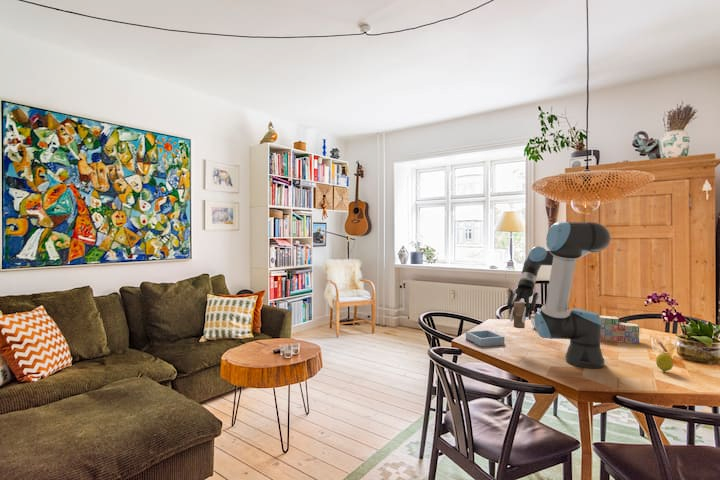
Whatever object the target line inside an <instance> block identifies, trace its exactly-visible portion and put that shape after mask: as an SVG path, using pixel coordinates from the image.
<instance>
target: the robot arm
mask: <svg viewBox="0 0 720 480" xmlns="http://www.w3.org/2000/svg"><path fill="white" fill-rule="evenodd" d="M610 242H611V234H610V231H609V230H608V229H607V227H606V226H604V225H603V224H601V223H598V222H592V221H590V222H589V221H588V222H584V221H583V222H580V221H579V222H577V221H575V222H574V221H569V222H568V221H561V222H560V221H559V222H555V223H553V224H552V225H550V227H549V229H548V231H547V234H546V248H547V249H548V250H546V248H544V247H543V246H538V245H537V246H534V247H532V248H531V249H530V251H529V252H528V254H527V257H526V259H525V261H524V263H523V265H522V266H523V267H522V271H521V273H520V277H519V280H518V284H517V288H516V289H515V290H512V289H511V290H509V297H508V300H507V304H506V306H507V308H508V309H509V312H508V313H509V321H510V322H514V302H521V300H522V299H524V300H525V309H524V313H523V317H522V322H523V323H525V324H526V318H527V317H529V316H530V312H534V311H535V309H536V304H537V300H538V298H539V293H538V292H534V289H535V285H536V281H537V277H538V273H539V271H540V268H541V267H542V266H551V270H550V277H549V282H548V287H547V293H546V300H545V304H543V305H542V306H541V307H540V311H536V312H535V313H534V314H535V316H534V320H535V326H536V333H537V334H538V335H539V337H540V338H543V339H549V340H551V339H556V340H569V345H568V348H567V351H566V353H565V357H564V358H565V359H564V360H565V361H566V363H569V364H570V365H573V366H576V367H580V368H587V369H601V368H604V367H605V362H606V361H605V358H604V356H603V354H602V353H603V352H602V349H601V340H600V334H601V319H600V316H601V315H599V314H598V313H596V312H593V311H590V310H587V309H586V310H585V309H580V308H571V309H568V306H569V302H570V301H569V300H570V295H571V290H572V286H573V285H572V284H573V280H574V273H575V268H576V264H577V260H579V259H580V258H583V257H585V256H587V255H589V254H591V253H599V252H601V251H603V250H604V249H605V250H606V248H607V247H608V246H609V245H610ZM515 295H516V296H515ZM514 297H515V298H514ZM531 297H532V300H531V304H530V298H531Z"/></svg>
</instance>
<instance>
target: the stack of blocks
mask: <svg viewBox="0 0 720 480" xmlns="http://www.w3.org/2000/svg"><path fill="white" fill-rule="evenodd" d="M599 316H600V319H601V334H600V341H607V340H613V341H612V342H617V341H624V342H623V343H627V342H632V343H631V344H637V343H639V344H640V325H638V324H637V323H629V322H620V319H619V318H618V317H617V316H611V315H610V316H609V315H599Z"/></svg>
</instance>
